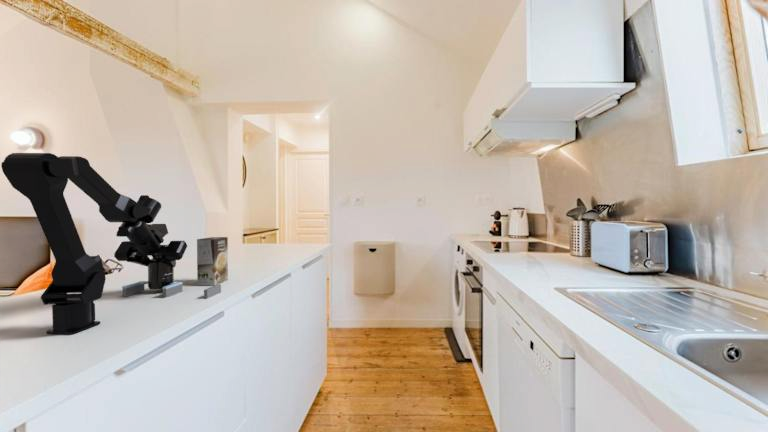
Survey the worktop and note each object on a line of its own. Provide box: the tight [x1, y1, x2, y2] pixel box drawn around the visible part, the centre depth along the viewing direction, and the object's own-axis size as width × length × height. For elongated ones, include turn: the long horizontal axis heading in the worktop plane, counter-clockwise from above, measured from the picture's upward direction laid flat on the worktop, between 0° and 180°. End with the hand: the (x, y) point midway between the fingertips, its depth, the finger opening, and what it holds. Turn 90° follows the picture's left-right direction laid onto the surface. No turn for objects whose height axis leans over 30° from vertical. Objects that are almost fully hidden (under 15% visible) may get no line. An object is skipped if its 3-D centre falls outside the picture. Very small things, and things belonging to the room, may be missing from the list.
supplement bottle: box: [147, 253, 175, 290], centre depth 105 cm, size 7×7×12 cm
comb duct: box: [121, 280, 222, 299], centre depth 101 cm, size 7×27×3 cm, turn 85°
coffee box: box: [196, 236, 229, 287], centre depth 117 cm, size 9×6×16 cm
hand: (163, 266), depth 106 cm, fingers closed on supplement bottle, 7 cm apart
